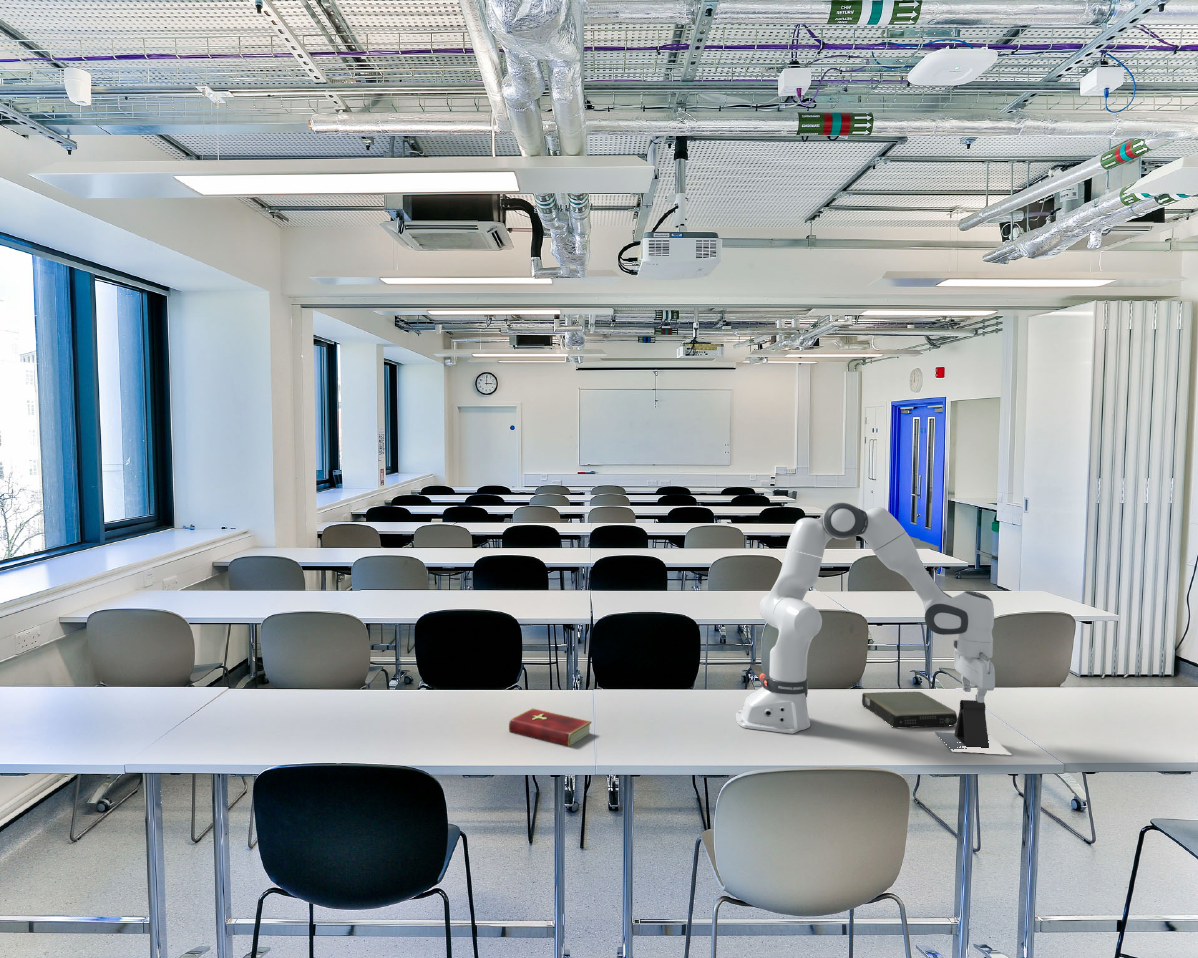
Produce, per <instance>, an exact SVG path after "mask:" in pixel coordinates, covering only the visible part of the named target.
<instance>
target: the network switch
mask: <svg viewBox="0 0 1198 958" xmlns="http://www.w3.org/2000/svg"><path fill="white" fill-rule="evenodd" d="M861 698H862V699H861V704H862V706H863V708H865V707H866V708H865V709H867V710H868V711H871V712H872V713H873V712H874V713H873V714H875V715H877V716H878V717H879V718H881V719H882V720H883V721H884V722H885V721H886V722H887V723H886V722H885V723H886V724H888V725H889V724H890V726H891V727H892V726H893V727H907V728H914V727H913V726H920V727H944V726H949V725H953V726H956V724H957V720H958V715H957V713H956V710H954V709H952V708H950V707H949V706H947V705H945V704H943V703H942V702H940V701H938V700H936V699H934V698H933V697H931V696H929V695H927V694H925V693H923V692H921V691H889V692H888V691H887V692H885V691H883V692H878V691H877V692H863V693H862V695H861Z"/></svg>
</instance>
